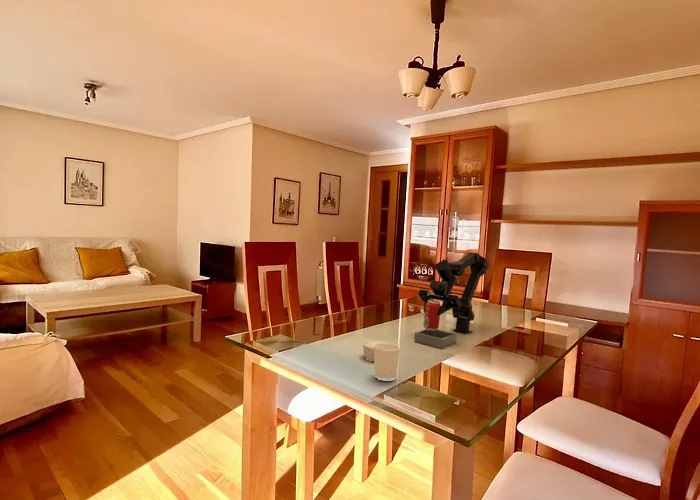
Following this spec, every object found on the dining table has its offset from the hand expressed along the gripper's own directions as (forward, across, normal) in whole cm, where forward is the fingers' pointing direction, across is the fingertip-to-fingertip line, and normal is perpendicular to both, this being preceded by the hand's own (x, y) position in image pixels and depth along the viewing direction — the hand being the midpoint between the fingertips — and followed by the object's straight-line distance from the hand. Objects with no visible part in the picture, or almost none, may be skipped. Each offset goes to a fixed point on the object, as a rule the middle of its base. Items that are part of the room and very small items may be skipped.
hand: (430, 313), depth 159 cm
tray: (+8, +2, +10) cm, 12 cm away
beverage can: (+4, -1, +6) cm, 7 cm away
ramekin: (+32, 0, -15) cm, 36 cm away
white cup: (+40, +13, -24) cm, 49 cm away
